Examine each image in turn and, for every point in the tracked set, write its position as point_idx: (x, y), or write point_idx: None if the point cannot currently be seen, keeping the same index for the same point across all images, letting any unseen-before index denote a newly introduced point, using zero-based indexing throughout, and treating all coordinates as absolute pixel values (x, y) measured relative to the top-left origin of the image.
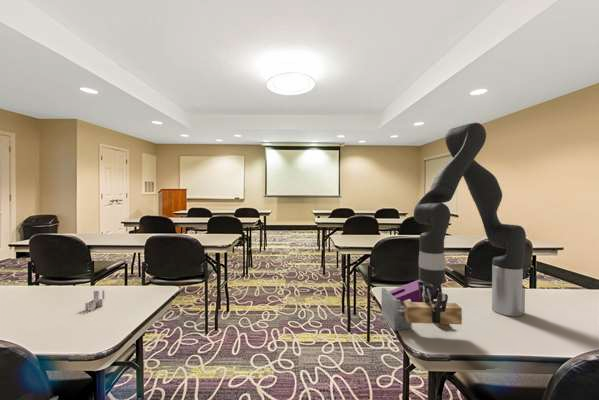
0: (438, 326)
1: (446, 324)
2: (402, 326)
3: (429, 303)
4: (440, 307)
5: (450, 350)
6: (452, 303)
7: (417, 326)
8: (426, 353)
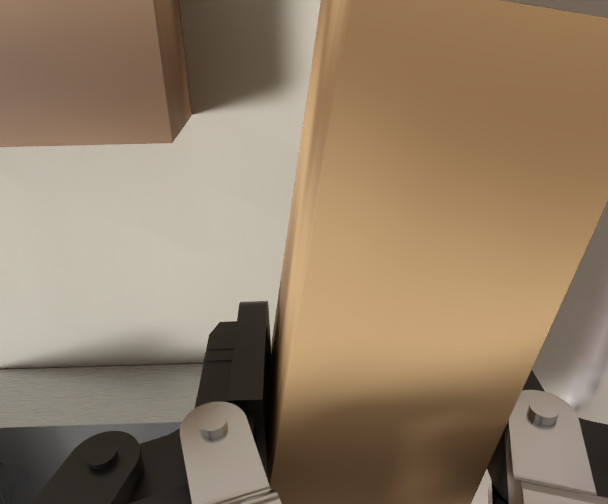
0: (189, 111)
1: (173, 11)
2: None
3: (310, 479)
4: (599, 472)
5: (604, 225)
6: (358, 83)
7: (187, 298)
8: (586, 393)
